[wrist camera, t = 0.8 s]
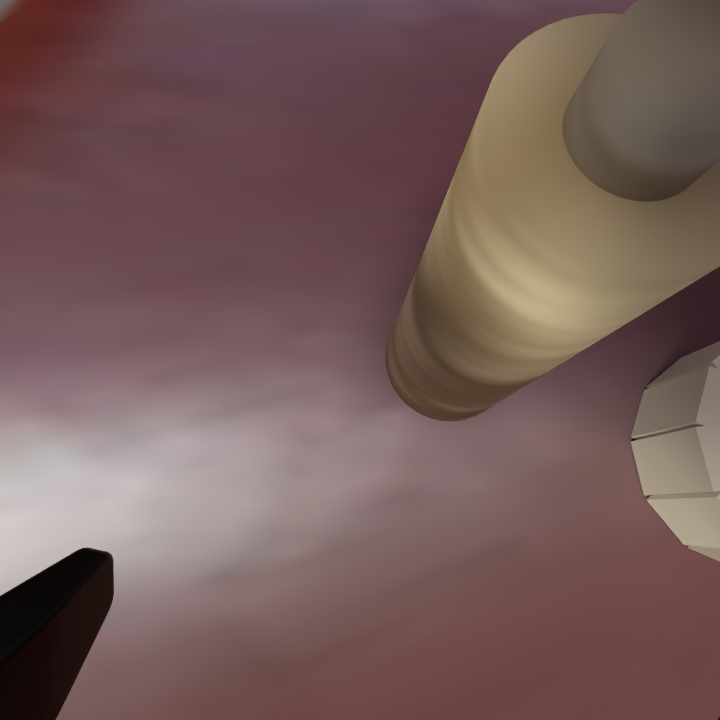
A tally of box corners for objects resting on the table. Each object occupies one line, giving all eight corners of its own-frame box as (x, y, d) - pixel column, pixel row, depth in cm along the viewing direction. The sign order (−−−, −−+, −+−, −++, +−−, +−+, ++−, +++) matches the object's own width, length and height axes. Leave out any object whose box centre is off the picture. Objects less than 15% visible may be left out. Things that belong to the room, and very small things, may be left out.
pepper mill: (532, 373, 23) (947, 103, 8) (438, 446, 22) (705, 300, 7) (455, 280, 24) (691, -127, 9) (360, 346, 22) (441, 16, 7)
